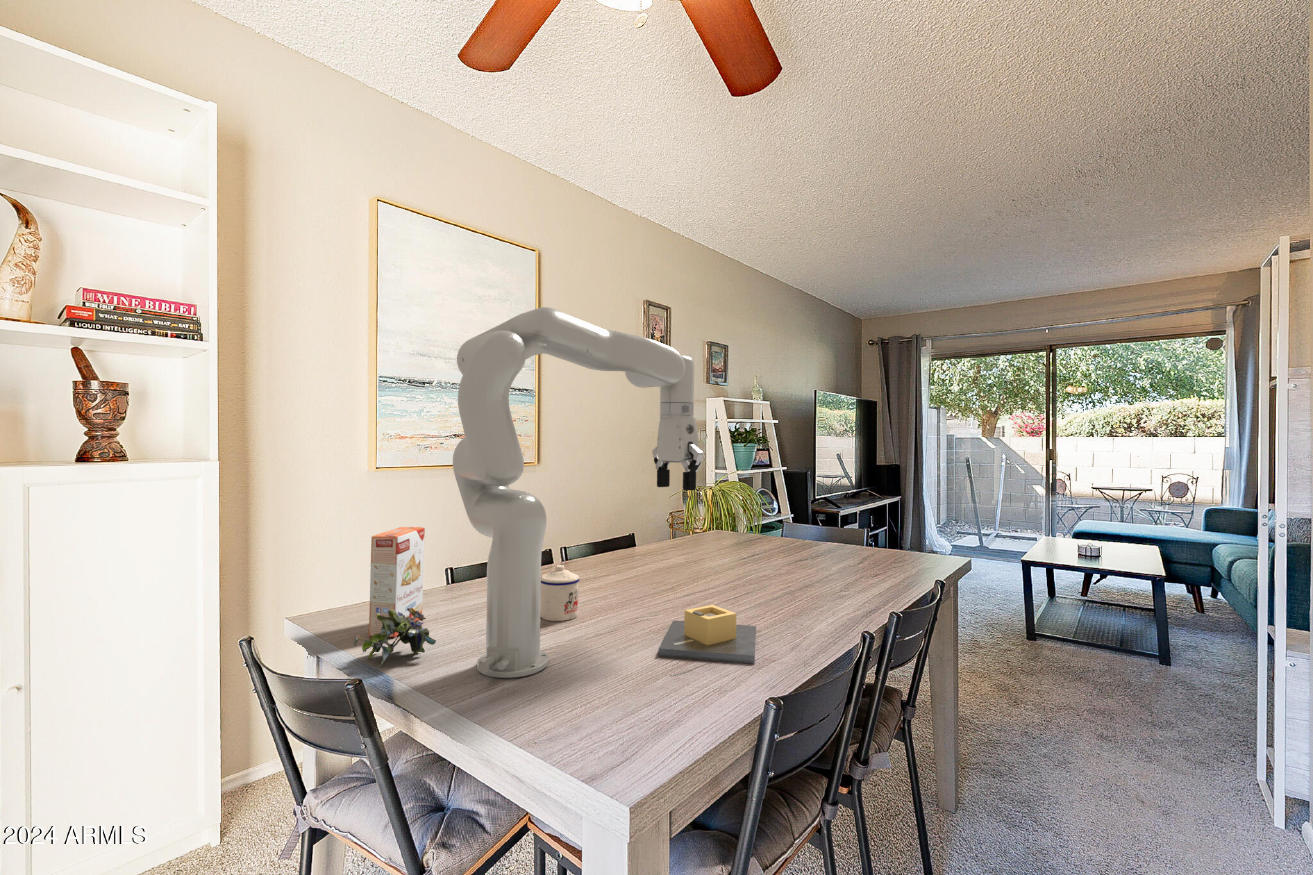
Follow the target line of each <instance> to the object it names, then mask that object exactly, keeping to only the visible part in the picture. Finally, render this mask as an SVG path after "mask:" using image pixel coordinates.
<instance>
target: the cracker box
mask: <svg viewBox="0 0 1313 875" xmlns="http://www.w3.org/2000/svg"><path fill="white" fill-rule="evenodd" d="M425 529H426V528H425V527H423V526H422V527H420V526H400V527H398V528H393V529H390V530H388V531H384V532H381V533H377V534H374V535H372V536H371V541H370V542H371V543H370V576H369V577H370V579H369V580H370V581H369V585H370V586H369V611H368V612H369V613H368V614H369V617H368V637H369V636H373V635H374V634H378V633H379V634H380V632H381V628H382V626H383V624H382V621H380V620H378V619H377V613H378V614H379V615H381V616H385V617H389V614H388V611H389V610H391V609H392V610H394V611H396V612H397V613H398V612H399V613H402V614H403V615H405V617H406V618H407V617H409V618H413V617H414V616H413V615H412V614H411V613H410V612H409V611H408V610H407V608H410V609H411V608H414V609H415V610H416V611H419V612H420V613H421V614H423V601H424V600H423V598H424V561H425V532H426V531H425ZM416 620H417V621H418V620H419V618H416V619H415V620H414V621H416ZM419 621H420V620H419ZM419 621H418V622H419ZM383 634H385V633H383ZM383 634H382V635H383ZM397 635H398V632H395V633H393V634H391V635H390V636H389V637H394V638H396V637H397ZM395 636H396V637H395ZM389 637H388V638H389Z"/></svg>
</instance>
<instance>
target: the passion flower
mask: <svg viewBox="0 0 1313 875" xmlns="http://www.w3.org/2000/svg"><path fill="white" fill-rule="evenodd" d="M407 610H408V611H409V612H410V613H411V614H412V615H413V616H414V617H413V618H409V617H407V618H406V617H405V615H403V614H402V613H399V612H398V613H397V612H396V611H394V610H392V609H391V610H389V611H388V614H389V617H385V616H381V615H379V614H378V613H377V619H378V620H380V621H382V624H383V626H382V628H381V632H380V634H379V633H378V634H374V635H373V636H372V637H370V638H368V639H365V638H361V636H362V635H359V634H357V635H355V636H356V637H355V638H354V641H353V643H352V644H353V646H354V647H356V646H357V643H358V641H359V640H360V641H364V642H363V644H362V648H361V649H362V653H363V654H364V653H366V652H367V650H369V649H371V648H372V650H371V651H370V652H369V654H368V660H369V661H370V660H371V658H372V657H373V655H374V654H373V653H374V652H378V653H379V652H380V651H381V649H382V652H381V656H382V660H381V663H380V665H381V666H382V665H383V664H384V662H385V661H386V659H388V657H390V655H391V654H392V653H393V652H394V649H395V647H396V646H397V645H398V643H399V642H400V641H401V643H402V644H405V645H406V644H409V646H410V650H411V652H412V653H414V654H415V653H418V652H420V653H423V654H424V653H426V651H425V648H424V644H425V643H427V644H429V645H433V646H434V645H436V641H437V640H436V639H434V638H432V637H431V634H430V630H429V629H428V628H426V627H423V625H424V620H426V619H427V617H425V615H424V614H423V613H422V614H421V613H420V612H419V611H416V610H415V609H414V608H411V609H410V608H407ZM416 618H419V621H417V620H416V621H414V620H415V619H416ZM395 632H398V635H397V636H396V637H395V638H394V639H395V640H393V641H392V643H389V641H388V640H389V639H388V638H389V636H390V635H391V634H393V633H395ZM383 633H385V634H383ZM382 634H383V635H382ZM383 644H384V645H383ZM385 645H386V646H385ZM380 665H379V666H380Z"/></svg>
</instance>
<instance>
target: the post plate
mask: <svg viewBox="0 0 1313 875" xmlns="http://www.w3.org/2000/svg"><path fill="white" fill-rule="evenodd" d="M704 615H705V616H708V617H710V616H715V615H716V614H714V613H708V614H704ZM684 623H685V620H672V622H671V623H670V626H669V628H668V630H667V631H666V633H665V635H664V637H663V639H662V641H661V643H660V646H659V647H658V657H662V658H664V657H665V658H676V659H686V660H687V659H689V660H700V661H701V660H702V661H703V660H704V661H715V662H726V663H729V662H730V663H740V664H752V665H754V664H755V663H756V662H755V661H756V660H755V659H756V644H757V643H756V642H757V625H746V624H736V638H735V639H731V640H727V641H723V642H719V643H715V644H710V645H706V644H704V643H702V642H699V641H697V640H695V639H693V638H691V637H688V636H686V635H684Z"/></svg>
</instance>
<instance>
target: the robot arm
mask: <svg viewBox="0 0 1313 875" xmlns="http://www.w3.org/2000/svg"><path fill="white" fill-rule="evenodd" d="M542 354H544V355H549V356H551V357H555V358H558V359H561V360H564V361H566V362H569V363H572V364H574V365H577V366H581V367H583V368H586V369H589V370H592V371H593V370H595V371H600V372H624V375H625V378H626V379H627V381H628V382H629V383H630V384H632V385H633V386H635V387H638V388H657V387H658V388H659V393H660V394H659V398H660V399H659V423H658V428H657V429H658V431H657V440H656V441H657V443H656V447H654V448H653V449H652V451H651V452H652V457H653V462H654V464H655V470H656V487H657V488H669V487H670V483H671V481H670V480H671V479H670V478H671V474H670V472H671V470H670V469H669V467H670V465H671V463H678V464H679V463H680V464H681V466H682V467H683V470H684V471H682V490H683V491H696V489H697V473H698V472H699V468H700V466H701V464H702V462H701V461H702V459H703V455H704V453H703V452H704V451H702V450H701V449H700V448H699V447H700V446H699V434H698V433H699V432H698V426H697V420H696V418H695V417H694V416H695V415H694V410H695V409H694V406H695V404H694V401H695V362H694V360H693V359H694V358H692V357H691V356H688V355H682V354H681V353H679V352H678V351H677V350H676V349H675V348H673V347H671V346H669V345H667V344H664V343H661V342H659V341H657V340H654V339H652V338H651V339H650V338H647V337H643V336H639V335H635V334H629V333H625V332H621V331H616V330H611V329H606V328H603V327H601V326H597V325H595V324H593V323H590V322H588V321H585V320H584V319H581V318H578V317H576V316H573V315H571V314H569V313H566V312H564V311H561V310H558V309H557V308H553V307H544V306H543V307H537V308H534V309H532V310H529V311H526V312H523V313H520V314H517V315H516V316H514V317H512V318H510V319H508V320H506V321H504V322H503V323H500V324H498V325H496V326H494V327H492V328H490V329H488V330H486V331H484V332H481V333H480V334H478V335H476V336H473V337H471V338H469V339H467V340H466V341H465V342H463V344H462V345H461V346H460V347H459V349H458V351H457V355H456V364H457V367H458V371H459V372H460V373H461V375H462V377H461V379H460V382H459V387H458V391H457V406H458V411H459V412H458V413H459V417H460V418H459V419H460V421H461V425H462V430H463V433H464V438H462V439H461V440H460V441H459V442H458V443H457V444H456V447H455V449H454V451H453V455H452V469H453V474H454V477H455V478H454V479H455V480H456V481H455V482H456V483H457V487H458V490H459V493H460V497H461V499H462V503H463V506H464V509H465V513H466V516H467V518H468V520H469V522H470V524H471V526H472V527H473V528H474V529H475V531H477V532H478V533H479V534H481V535H483V536H486V537H487V538H491V539H492V542H491V546H490V549H489V552H488V553H489V554H488V559H487V566H486V620H485V621H486V622H485V623H486V626H485V629H486V632H485V633H486V634H485V640H486V641H485V642H486V643H485V653H484V654H482V655H481V656H480V657H479V658H478V659H477V661H476V669H477V671H478V672H479V673H480V674H482V675H484V676H487V677H492V678H497V679H498V678H501V679H513V678H521V677H526V676H531V675H533V674H536V673H539V672H540V671H542V670H544V669H545V668H546V667H547V666H548V664H549V654H547V653H546V652H545V651H544V650H542V649H541V616H540V605H541V576H542V569H541V568H542V552H543V544H544V538H545V536H546V534H545V533H546V529H547V513H546V509H545V507H544V505H543V503H542V502H541V500H539V498H538V497H536V496H535V495H533V494H532V493H530V492H527V491H524V490H519V489H514V488H513V489H511V488H510V485H513V484H514V483H516V482H518V480H519V479H521V478H520V477H521V476H522V475H523V472H524V470H525V469H524V467H525V459H524V455H523V452H522V448H521V445H520V441H519V438H518V435H517V432H516V428H515V425H514V421H513V418H512V412H511V407H510V399H509V397H510V390H511V387H512V385H513V384H514V383H513V382H514V381H515V379H516V377H517V376H518V375H519V373H520V372H521V371H522V369H523V368H524V366H525V363H526V360H528V359H530V358H532V357H533V356H538V355H542Z"/></svg>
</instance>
